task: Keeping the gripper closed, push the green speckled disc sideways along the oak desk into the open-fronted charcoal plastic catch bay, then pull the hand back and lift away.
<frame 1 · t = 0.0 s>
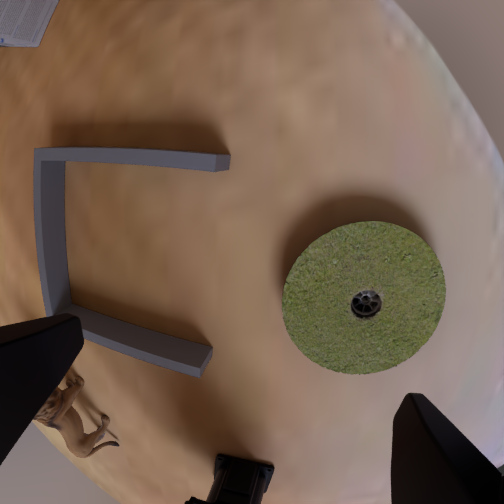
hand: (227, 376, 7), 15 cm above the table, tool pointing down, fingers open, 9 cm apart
light bulb box: (27, 20, 20), on the table
catch bay: (130, 249, 24), on the table
green speckled disc: (363, 293, 21), on the table
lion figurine: (85, 398, 32), on the table
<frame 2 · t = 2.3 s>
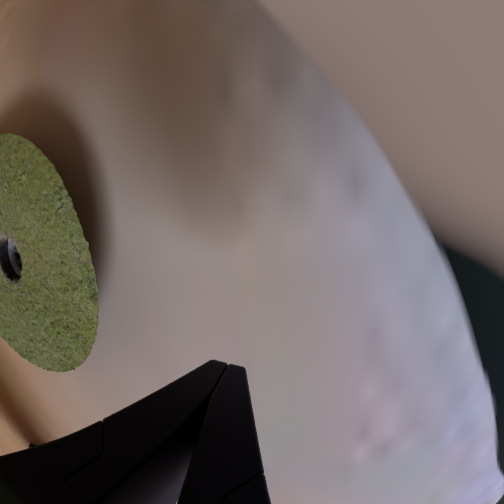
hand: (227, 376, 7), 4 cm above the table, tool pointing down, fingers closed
green speckled disc: (37, 249, 13), on the table
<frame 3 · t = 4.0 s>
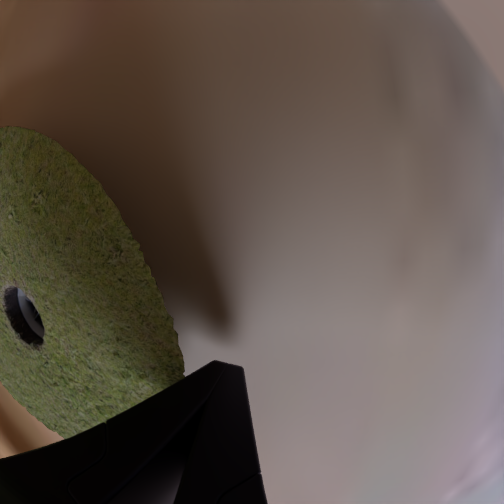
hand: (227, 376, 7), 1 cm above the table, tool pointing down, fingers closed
green speckled disc: (61, 295, 9), on the table, touching gripper
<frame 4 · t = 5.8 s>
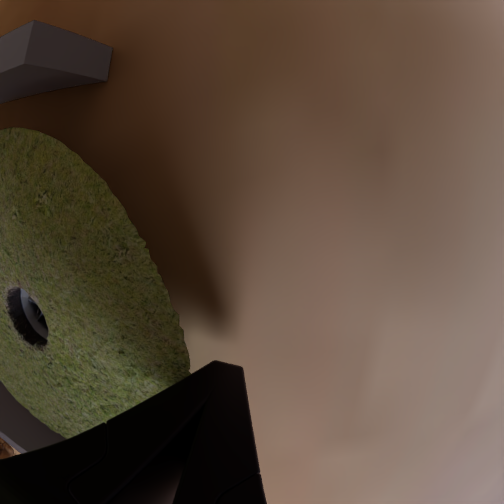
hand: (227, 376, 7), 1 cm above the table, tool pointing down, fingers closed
green speckled disc: (63, 296, 9), on the table, touching gripper
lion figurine: (22, 464, 19), on the table
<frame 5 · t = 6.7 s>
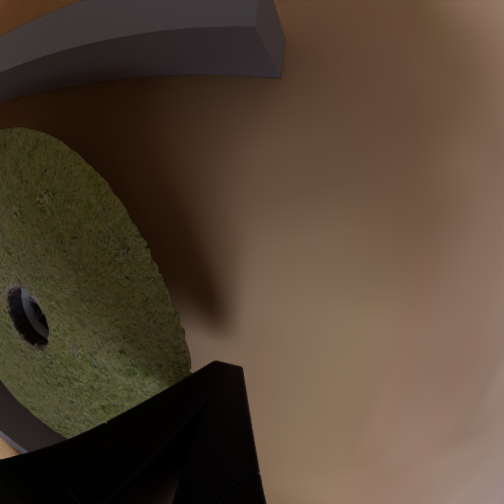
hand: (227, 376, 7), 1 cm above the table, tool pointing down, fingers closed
catch bay: (43, 295, 9), on the table
green speckled disc: (64, 296, 9), on the table, touching gripper
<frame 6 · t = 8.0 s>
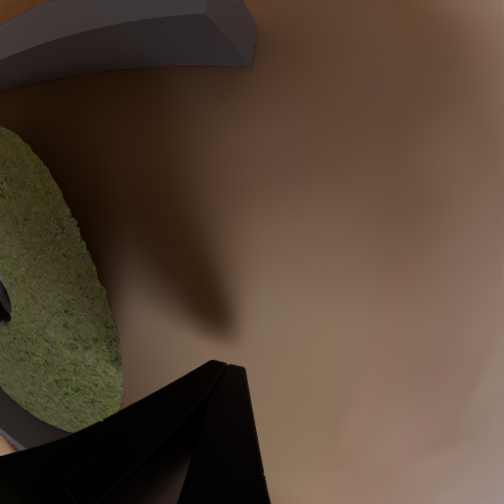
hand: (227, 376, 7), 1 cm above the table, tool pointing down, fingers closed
catch bay: (28, 283, 9), on the table
green speckled disc: (31, 278, 10), on the table
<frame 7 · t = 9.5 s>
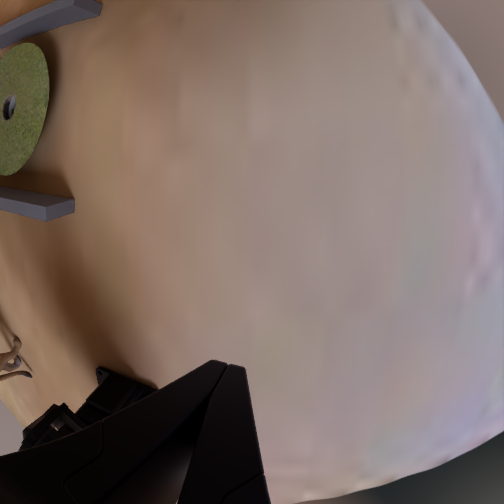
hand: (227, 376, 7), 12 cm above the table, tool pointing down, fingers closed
catch bay: (23, 109, 19), on the table
green speckled disc: (25, 108, 19), on the table
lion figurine: (3, 319, 29), on the table
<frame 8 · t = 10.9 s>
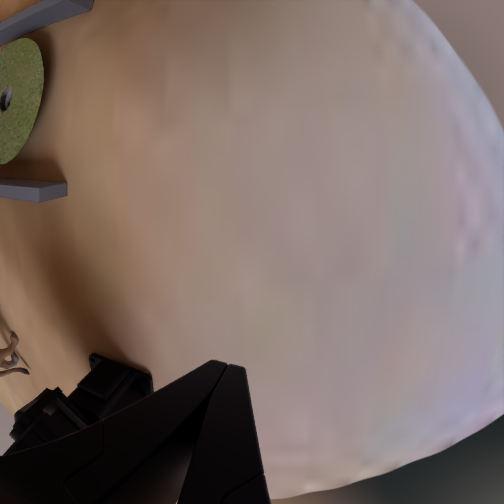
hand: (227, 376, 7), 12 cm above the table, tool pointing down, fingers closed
catch bay: (19, 102, 20), on the table
green speckled disc: (21, 100, 20), on the table
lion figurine: (0, 316, 28), on the table
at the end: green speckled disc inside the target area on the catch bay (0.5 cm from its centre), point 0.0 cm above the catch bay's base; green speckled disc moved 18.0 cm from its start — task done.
